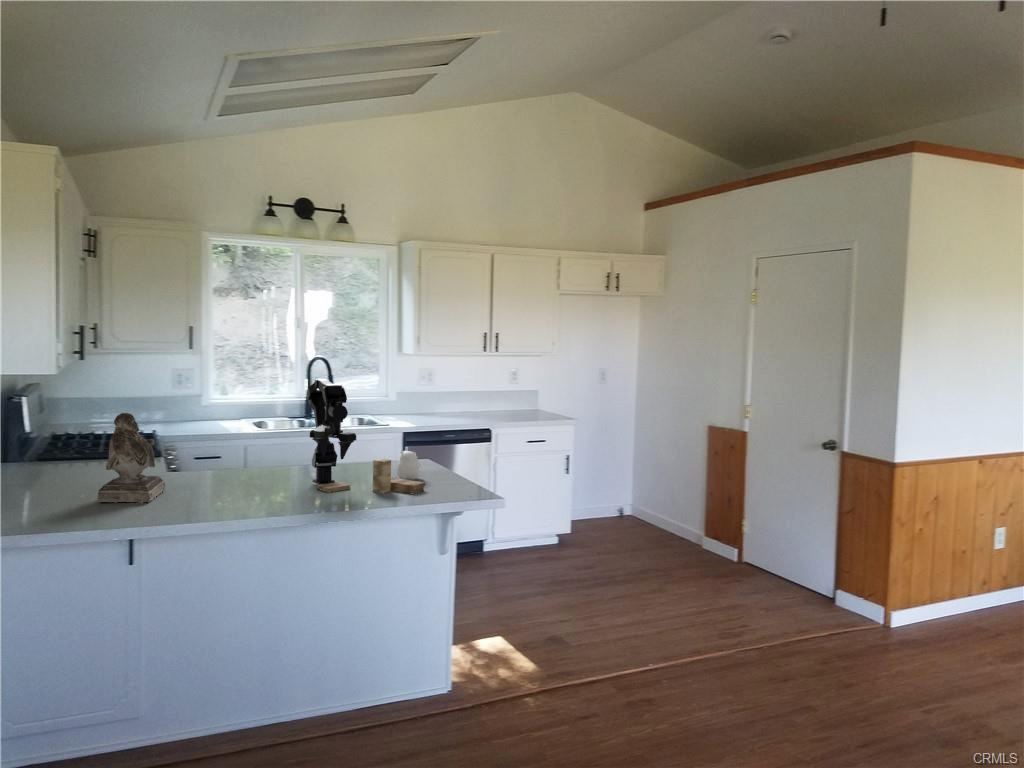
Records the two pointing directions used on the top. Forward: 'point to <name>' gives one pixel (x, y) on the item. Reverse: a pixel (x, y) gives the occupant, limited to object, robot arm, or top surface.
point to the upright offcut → (381, 475)
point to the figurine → (408, 466)
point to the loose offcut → (333, 486)
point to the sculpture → (130, 465)
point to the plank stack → (406, 485)
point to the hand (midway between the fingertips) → (332, 457)
